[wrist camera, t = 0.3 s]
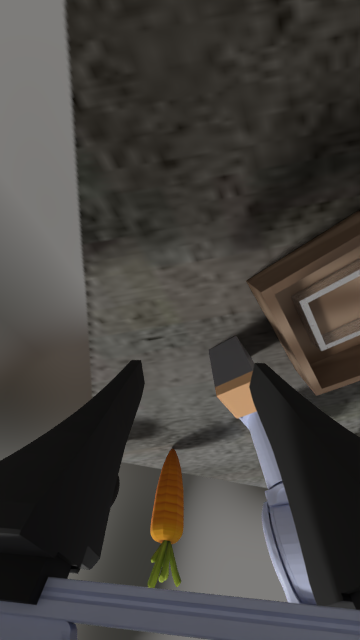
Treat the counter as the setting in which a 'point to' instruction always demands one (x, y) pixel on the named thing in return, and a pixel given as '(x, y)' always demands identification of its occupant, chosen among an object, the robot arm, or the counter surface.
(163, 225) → the counter surface
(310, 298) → the frame
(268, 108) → the counter surface
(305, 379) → the walnut box
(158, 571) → the carrot
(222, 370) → the two-tone rectangular block
